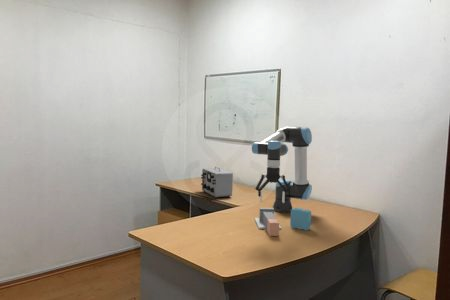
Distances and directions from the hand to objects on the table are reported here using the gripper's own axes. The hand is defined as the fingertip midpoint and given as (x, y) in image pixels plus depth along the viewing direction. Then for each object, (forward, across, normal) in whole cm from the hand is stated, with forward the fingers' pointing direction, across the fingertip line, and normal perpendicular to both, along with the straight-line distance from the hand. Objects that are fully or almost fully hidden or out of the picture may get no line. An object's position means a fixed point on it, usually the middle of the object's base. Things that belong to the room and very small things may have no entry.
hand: (271, 202), depth 198 cm
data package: (+19, -21, -11) cm, 31 cm away
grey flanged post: (+19, -1, -16) cm, 25 cm away
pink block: (+19, -1, 0) cm, 19 cm away
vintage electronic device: (+19, +31, -105) cm, 111 cm away
